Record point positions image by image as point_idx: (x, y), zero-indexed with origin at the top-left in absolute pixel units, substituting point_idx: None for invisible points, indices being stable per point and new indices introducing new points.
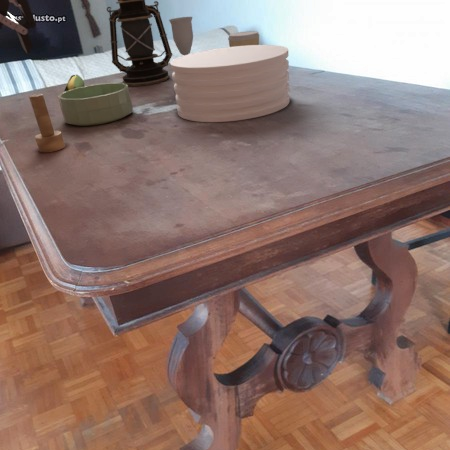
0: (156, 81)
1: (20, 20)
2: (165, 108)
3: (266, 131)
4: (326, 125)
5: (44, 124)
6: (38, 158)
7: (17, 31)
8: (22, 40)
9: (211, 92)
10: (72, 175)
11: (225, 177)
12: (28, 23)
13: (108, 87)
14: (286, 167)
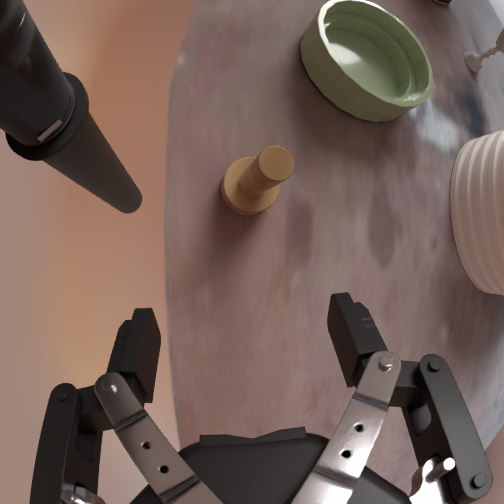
0: (437, 2)
1: (398, 389)
2: (443, 128)
3: (471, 356)
4: (495, 371)
5: (256, 193)
6: (209, 237)
7: (354, 366)
8: (342, 369)
9: (495, 274)
10: (245, 383)
11: (376, 471)
12: (403, 411)
13: (400, 30)
14: (417, 465)
